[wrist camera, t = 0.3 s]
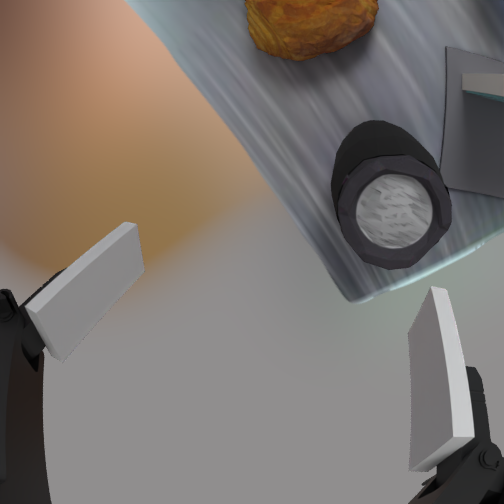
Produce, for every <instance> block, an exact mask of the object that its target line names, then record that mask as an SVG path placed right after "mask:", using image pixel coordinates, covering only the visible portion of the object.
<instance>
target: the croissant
mask: <svg viewBox="0 0 504 504" xmlns="http://www.w3.org/2000/svg"><path fill="white" fill-rule="evenodd" d="M245 1H246V2H245V5H246V7H247V9H248V12H247V20H248V23H249V26H248V29H249V33H250V36H251V37H252V39H253V40H254V42H255V44H256V47H257V48H258V49H260V50H262V51H264V52H267V53H268V54H269V55H272V56H275V57H281V58H282V59H291V60H295V61H304V60H307V59H311V58H314V57H316V56H317V55H320V54H323V53H331V52H334V51H337V50H339V49H342V48H343V47H345V46H347V45H348V44H350V43H351V42H352V41H354V40H356V39H358V38H360V37H362V36H363V35H365V34H366V33H368V32H369V30H370V29H371V28H372V27H373V26H374V20H375V15H376V14H377V11H378V9H379V7H378V3H377V1H378V0H245Z"/></svg>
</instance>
